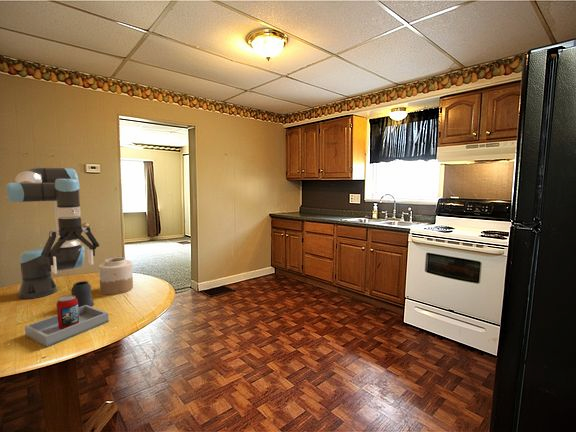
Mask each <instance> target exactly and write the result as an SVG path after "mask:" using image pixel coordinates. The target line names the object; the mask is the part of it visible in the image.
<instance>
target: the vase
mask: <svg viewBox="0 0 576 432" xmlns="http://www.w3.org/2000/svg"><path fill="white" fill-rule="evenodd" d="M98 276H99V290H100V291H99V292H100V294H102V295H105V296H112V295H114V296H115V295H122V294H124V293H127V292H129V291H131V290H132V289H133V288H134V283H133V282H134V281H133V279H134V278H133V263H132V261H130V260H127V259H126V257H120V256H119V257H118V256H117V257H110V258H106V259H105V260H104V262H102V263H101V264H99V266H98Z"/></svg>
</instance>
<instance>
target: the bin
mask: <svg viewBox="0 0 576 432" xmlns="http://www.w3.org/2000/svg"><path fill="white" fill-rule="evenodd" d="M78 311H79V323H77V324H75V325H72V326H70V327H67V328H65V329H60V328H59V326H58V317H57V314H55V315H53V316H50V317H47V318H44V319H41V320H38V321H36V322H33V323H30V324H27V325H24V332H25V333H24V335H25V337H27V336H28V337H30V338H31V339H30V338H29V339H30V340H32V339H33V341H34V340H35V341H34V342H36V341H37V343H38V344H40V345H41V346H43V347H46V348H49V347H51V346H54V345H57V344H59V343H61V342H63V341H66V340H69V339H71V338H73V337H75V336H79V335H80V334H82V333H86V332H88V331H90V330H93V329H94V328H97V327H100V326H102V325H104V324H107V323H109V321H110V320H109V312H108V311H104V310H102V309H100V308H95V307H94V306H92V307H91V306H88V305H84V306H82V307H79V308H78ZM28 337H27V338H28Z"/></svg>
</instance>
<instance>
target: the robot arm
mask: <svg viewBox="0 0 576 432" xmlns="http://www.w3.org/2000/svg"><path fill="white" fill-rule="evenodd" d="M5 187H6V196H7V197H6V198H7V201H9V202H11V203H25V202H26V203H27V202H33V203H34V202H53V203H54V205H53V206H54V215H55V217H54V219H55V228H56V229H55V230H56V231H53V230H50V231H49V233H48V234H49V235H48V239H47V241H46V243H45V245H44V246H43V247H35V248H32V249H28V250H27V249H26V250H25V251H23V252H21V253H20V255H19V263H20V272H21V273H20V274H21V284H20V286H19V290H18V297H19V298H20V299H24V300H26V299H28V300H29V299H36V298H42V297H47V296H50V295H52V294H54V293H55V292H57V290H58V289H57V285H56V283H55V281H54V278H53V277H52V273H53V274H54V275H55V274H58V272H59V271H65V270H73V269H78V268H79V269H80V268H82V267H83V266H84V263H85V262H84V261H85V254H86V252H85V251H87V262H88V263H87V264H88V265H90V266H91V265H94V263H95V262H94V261H95V260H94V257H96V256H95V255H96V254H95V253H96V249H97V248H99V247H100V244H99V242H98V241H97V239H96V238H95V236H94V234H93V233H92V231H91V230H92V229H91V228H90V227H89V226H84V227H82V218H81V215H82V213H81V203H80V202H81V201H80V200H81V199H80V190H81V185H80V181H79V177H78V173H77V171H76V170H75V169H74V168H67V167H33V168H29V169H25V170H22V171H20V172H19V173H17V175H16V177H15V182H9V183H7V184H6V186H5ZM82 233H84V234H85V235H86V237H87V239H88V240H87V239H86V238H85V237H84V236H83V235H82ZM78 240H79V241H78ZM55 241H56V242H55ZM81 242H82V243H81ZM81 244H84V245H86V247H87V250H85V246H84V245H81Z"/></svg>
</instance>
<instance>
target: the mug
mask: <svg viewBox="0 0 576 432" xmlns="http://www.w3.org/2000/svg"><path fill="white" fill-rule="evenodd" d="M72 285H73V286H72V287H71V289H70V290H71V295H74V296H75V297H76V299H77V300H78V308H79V307H82V306H84V305H88V306H91V307H94V306H95V301H94V300H93V299H92V285H90V283H89V281H85V280H82V281H78V282H77V281H76V282H74V283H73V284H72Z"/></svg>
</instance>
